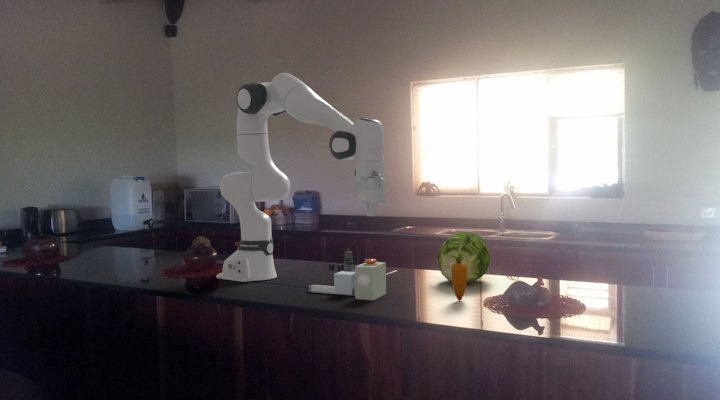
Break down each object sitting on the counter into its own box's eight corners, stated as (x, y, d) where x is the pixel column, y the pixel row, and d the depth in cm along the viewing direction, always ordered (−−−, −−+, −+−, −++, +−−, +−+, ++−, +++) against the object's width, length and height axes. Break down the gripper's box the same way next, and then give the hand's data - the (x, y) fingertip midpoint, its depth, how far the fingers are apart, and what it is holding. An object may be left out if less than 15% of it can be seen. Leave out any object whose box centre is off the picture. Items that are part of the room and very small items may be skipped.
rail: (308, 291, 193) (308, 285, 193) (312, 290, 195) (312, 284, 195) (360, 296, 185) (360, 290, 185) (363, 294, 187) (363, 288, 187)
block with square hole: (354, 299, 181) (354, 266, 181) (368, 292, 191) (368, 261, 190) (372, 300, 179) (372, 267, 178) (386, 293, 188) (385, 262, 188)
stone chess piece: (355, 283, 206) (354, 249, 205) (338, 283, 207) (338, 248, 206) (358, 280, 212) (358, 246, 211) (342, 279, 213) (342, 246, 212)
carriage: (334, 293, 187) (334, 273, 187) (341, 290, 192) (341, 271, 192) (351, 295, 185) (351, 274, 185) (358, 291, 189) (358, 272, 189)
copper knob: (363, 278, 184) (362, 260, 183) (367, 276, 187) (367, 258, 187) (373, 279, 182) (373, 260, 182) (378, 277, 185) (378, 259, 185)
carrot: (464, 303, 174) (463, 252, 173) (448, 301, 176) (448, 251, 176) (470, 299, 178) (470, 250, 177) (454, 298, 181) (454, 249, 180)
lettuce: (425, 288, 197) (432, 240, 193) (442, 266, 218) (449, 222, 214) (477, 302, 191) (485, 252, 187) (490, 278, 213) (498, 232, 208)
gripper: (390, 171, 174) (390, 218, 175) (371, 169, 193) (372, 212, 195) (369, 172, 172) (370, 219, 173) (352, 170, 192) (353, 213, 193)
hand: (371, 215), depth 184 cm, fingers closed
